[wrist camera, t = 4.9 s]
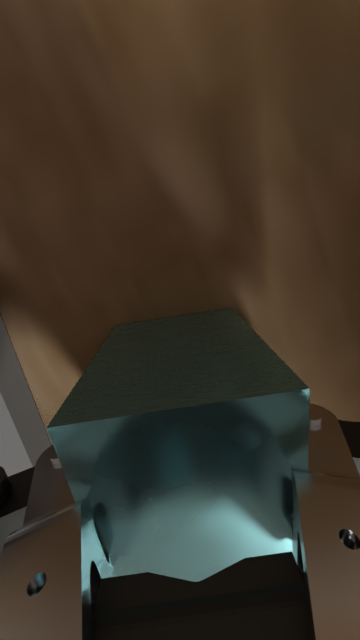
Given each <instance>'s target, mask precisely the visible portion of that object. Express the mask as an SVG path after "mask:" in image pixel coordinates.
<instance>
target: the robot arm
mask: <svg viewBox="0 0 360 640" xmlns="http://www.w3.org/2000/svg"><path fill="white" fill-rule="evenodd" d="M291 482H292V494H293V528H292V548H293V553H292V551H291V552H284V553H277V554H270V555H263V556H256V557H249V558H244V559H242V560H240V561H238V562H236V563H234V564H232V565H231V566H229V567H227V568H225V569H223V570H221V571H219V572H217V573H215V574H213V575H211V576H209V577H207V578H206V579H204V580H201V581H198V582H193V581H188V580H183V579H178V578H174V577H169V576H164V575H160V574H155V573H150V572H144V573H137V574H131V575H124V576H117V577H115V576H114V570H113V565H112V562H111V559H110V556H109V554H107V555H105V554H104V552H103V549H102V546H101V544H100V541H99V538H98V535H97V533H96V529H95V525H94V519H93V511H92V507H91V504H90V502H89V499H88V496H87V494H86V495H80V496H73V495H72V492H71V490H70V487H69V484H68V482H67V479H66V477H65V474H64V472H63V469H62V466H61V464H60V461H59V459H58V456H57V454H56V451H55V448H54V446H53V445H51V446H50V447H48V448H47V449H46V450H45V451H44V452H43V453H42V454H41V455H40V457H39V458H38V460H37V462H36V465H35V466H34V467H32V468H29V469H27V470H24V471H21V472H19V473H16V474H14V475H11V476H9V477H8V476H7V474H6V472H5V470H4V468H3V467H1V466H0V640H360V422H349V421H341V420H338V419H337V417H336V416H335V415H334V414H333V413H332V412H331V411H329V410H328V409H326V408H324V407H321V406H319V405H315V404H310V403H309V444H308V462H305V463H298V464H291Z"/></svg>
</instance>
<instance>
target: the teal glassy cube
mask: <svg viewBox="0 0 360 640" xmlns="http://www.w3.org/2000/svg"><path fill="white" fill-rule="evenodd" d="M309 391H310V389H309V388H308V386H307V385H306V384H305V383H304V382H303V381H302V380H301V379H300V378H299V377H298V376H297V375H296V374H295V373H294V372H293V371H292V370H291V369H290V368H289V367H288V366H287V365H286V364H285V363H284V361H283V360H282V359H281V358H280V357H279V356H278V355H277V354H276V353H275V352H274V351H273V350H272V349H271V348H270V347H269V346H268V345H267V344H266V343H265V342H264V341H263V340H262V339H261V337H260V336H259V335H258V334H257V333H256V332H255V331H254V330H253V329H252V328H251V327H250V326H249V325H248V324H247V323H246V322H245V321H244V320H243V319H242V318H241V317H240V316H239V315H238V313H237V312H236V311H235V310H234V309H233V308H227V309H220V310H213V311H207V312H200V313H194V314H187V315H181V316H174V317H168V318H161V319H154V320H148V321H141V322H135V323H128V324H122V325H115V327H114V328H113V330H112V331H111V333H110V334H109V336H108V337H107V339H106V340H105V342H104V343H103V345H102V346H101V348H100V349H99V351H98V352H97V354H96V355H95V357H94V358H93V360H92V361H91V363H90V364H89V365H88V367H87V368H86V370H85V371H84V373H83V374H82V376H81V377H80V379H79V380H78V382H77V383H76V385H75V386H74V388H73V389H72V391H71V392H70V394H69V395H68V397H67V398H66V400H65V401H64V403H63V404H62V406H61V407H60V409H59V410H58V411H57V413H56V414H55V416H54V417H53V419H52V420H51V422H50V423H49V425H48V426H47V430H48V433H49V436H50V438H51V441H52V443H53V446H54V448H55V451H56V454H57V456H58V459H59V461H60V464H61V466H62V469H63V472H64V474H65V477H66V479H67V482H68V484H69V487H70V490H71V492H72V495H73V496H80V495H86V494H87V496H88V499H89V502H90V504H91V507H92V511H93V519H94V525H95V529H96V533H97V535H98V538H99V541H100V544H101V546H102V549H103V552H104V554H105V555H107V554H109V556H110V559H111V562H112V565H113V570H114V576H115V577H117V576H124V575H131V574H137V573H144V572H150V573H155V574H160V575H164V576H169V577H174V578H178V579H183V580H188V581H193V582H198V581H201V580H204V579H206V578H207V577H209V576H211V575H213V574H215V573H217V572H219V571H221V570H223V569H225V568H227V567H229V566H231V565H232V564H234V563H236V562H238V561H240V560H242V559H244V558H249V557H256V556H263V555H270V554H277V553H284V552H291V551H292V553H293V548H292V528H293V494H292V482H291V464H298V463H305V462H308V444H309Z"/></svg>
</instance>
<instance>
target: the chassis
mask: <svg viewBox="0 0 360 640" xmlns="http://www.w3.org/2000/svg"><path fill="white" fill-rule="evenodd" d="M50 446H51V443H50V440H49V438H48V435H47V432H46V430H45V427H44V425H43V422H42V420H41V417H40V415H39V412H38V410H37V407H36V404H35V402H34V399H33V397H32V394H31V392H30V389H29V387H28V384H27V382H26V379H25V376H24V374H23V371H22V369H21V366H20V364H19V361H18V359H17V356H16V354H15V351H14V348H13V346H12V343H11V341H10V338H9V336H8V333H7V331H6V328H5V326H4V323H3V320H2V318H1V315H0V466H1V467H3V468H4V470H5V472H6V474H7V476H8V477H9V476H11V475H14V474H16V473H19V472H21V471H24V470H27V469H29V468H32V467H34V466H35V465H36V462H37V460H38V458H39V457H40V455H41V454H42V453H43V452H44V451H45V450H46V449H47V448H48V447H50Z"/></svg>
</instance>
